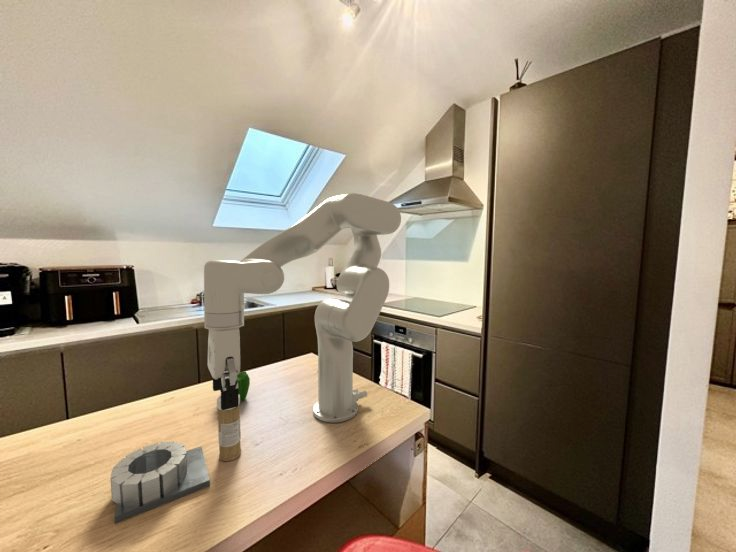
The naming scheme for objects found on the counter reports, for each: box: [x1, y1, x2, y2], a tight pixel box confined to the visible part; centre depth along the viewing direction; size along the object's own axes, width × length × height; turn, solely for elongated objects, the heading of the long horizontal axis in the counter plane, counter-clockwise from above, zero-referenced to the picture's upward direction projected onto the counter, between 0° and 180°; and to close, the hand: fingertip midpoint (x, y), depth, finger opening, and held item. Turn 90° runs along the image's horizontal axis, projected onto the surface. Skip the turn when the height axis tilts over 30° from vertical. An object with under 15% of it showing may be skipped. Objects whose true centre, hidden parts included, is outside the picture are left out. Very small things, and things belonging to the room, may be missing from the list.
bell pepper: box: [219, 371, 251, 402], centre depth 90 cm, size 8×8×10 cm
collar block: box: [110, 441, 211, 524], centre depth 58 cm, size 15×12×5 cm
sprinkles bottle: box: [216, 395, 242, 462], centre depth 66 cm, size 5×5×13 cm
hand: (225, 398), depth 65 cm, fingers open, 9 cm apart
